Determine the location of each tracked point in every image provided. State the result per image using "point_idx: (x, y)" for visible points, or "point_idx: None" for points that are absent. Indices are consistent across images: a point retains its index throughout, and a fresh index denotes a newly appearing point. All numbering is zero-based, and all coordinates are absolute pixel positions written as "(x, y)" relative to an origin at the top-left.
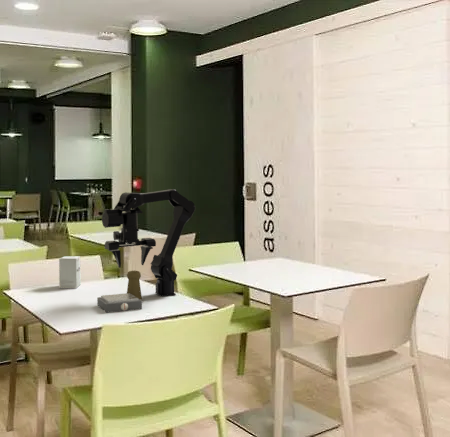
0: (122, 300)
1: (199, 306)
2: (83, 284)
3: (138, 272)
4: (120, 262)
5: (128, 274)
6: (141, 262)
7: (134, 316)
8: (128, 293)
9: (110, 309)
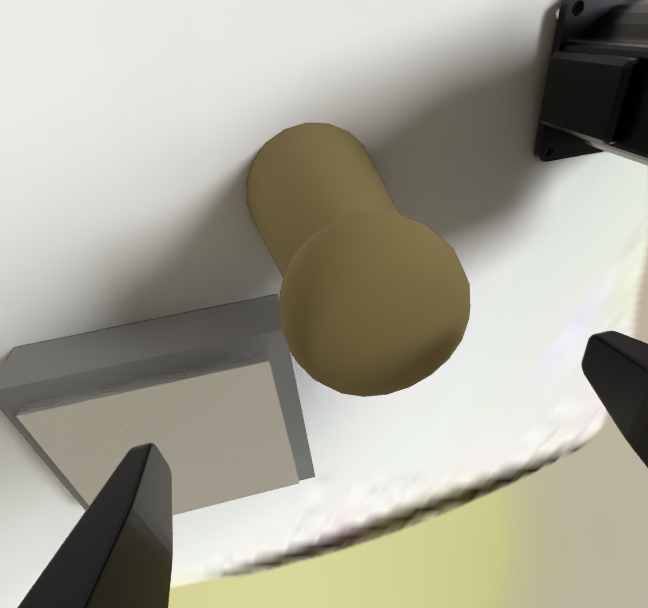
0: (200, 504)
1: (564, 412)
2: None
3: (433, 372)
4: (161, 603)
5: (297, 360)
6: (624, 365)
7: (251, 524)
8: (256, 372)
9: None
